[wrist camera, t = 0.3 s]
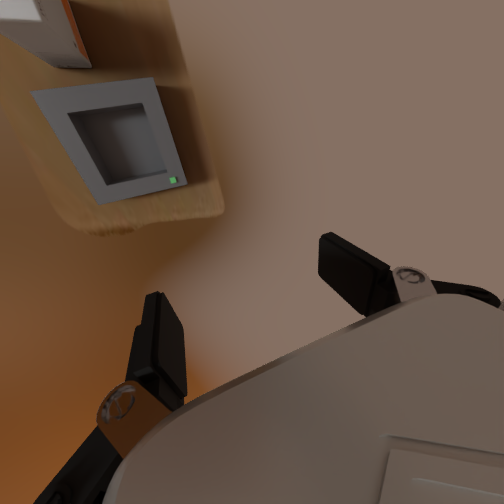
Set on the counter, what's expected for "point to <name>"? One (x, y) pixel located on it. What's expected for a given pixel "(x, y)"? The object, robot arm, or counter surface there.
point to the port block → (115, 137)
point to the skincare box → (44, 31)
